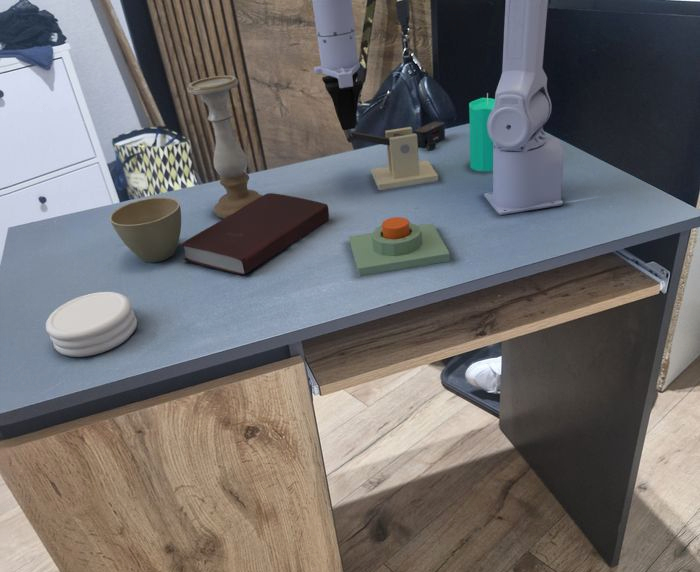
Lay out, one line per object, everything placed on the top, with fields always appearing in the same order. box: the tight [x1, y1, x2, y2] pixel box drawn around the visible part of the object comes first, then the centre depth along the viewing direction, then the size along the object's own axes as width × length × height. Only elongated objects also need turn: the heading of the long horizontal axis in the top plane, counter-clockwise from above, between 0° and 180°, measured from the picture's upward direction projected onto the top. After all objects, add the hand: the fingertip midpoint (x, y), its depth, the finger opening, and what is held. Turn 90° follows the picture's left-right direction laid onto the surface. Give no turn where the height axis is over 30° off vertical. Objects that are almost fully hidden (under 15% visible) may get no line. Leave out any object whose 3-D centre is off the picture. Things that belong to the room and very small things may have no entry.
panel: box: [348, 222, 451, 277], centre depth 86 cm, size 12×10×3 cm
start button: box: [381, 216, 410, 239], centre depth 85 cm, size 4×4×2 cm
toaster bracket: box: [371, 126, 439, 191], centre depth 107 cm, size 10×8×8 cm
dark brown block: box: [413, 121, 446, 151], centre depth 121 cm, size 5×7×3 cm, turn 134°
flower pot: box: [109, 196, 182, 263], centre depth 94 cm, size 10×10×7 cm
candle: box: [468, 92, 495, 172], centre depth 106 cm, size 6×6×12 cm
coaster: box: [45, 291, 138, 358], centre depth 78 cm, size 10×10×4 cm
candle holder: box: [186, 75, 263, 220], centre depth 101 cm, size 9×9×20 cm
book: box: [180, 192, 330, 276], centre depth 95 cm, size 12×19×3 cm, turn 145°
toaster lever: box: [343, 129, 403, 146], centre depth 105 cm, size 11×5×2 cm, turn 97°
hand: (347, 124), depth 103 cm, fingers open, 4 cm apart
